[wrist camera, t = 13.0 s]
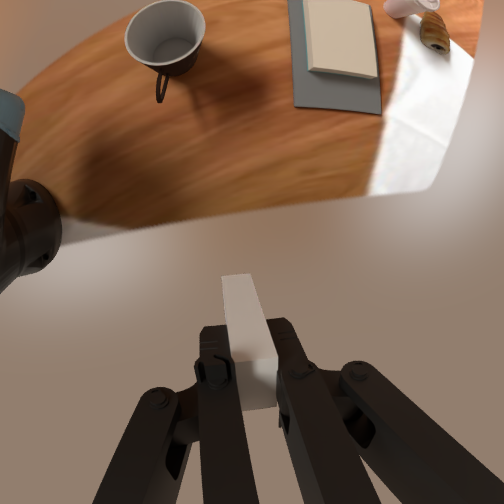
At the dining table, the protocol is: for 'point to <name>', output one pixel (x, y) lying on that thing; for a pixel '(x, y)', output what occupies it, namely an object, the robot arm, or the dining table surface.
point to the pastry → (434, 33)
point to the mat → (328, 76)
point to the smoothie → (409, 7)
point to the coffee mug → (166, 38)
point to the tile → (339, 38)
